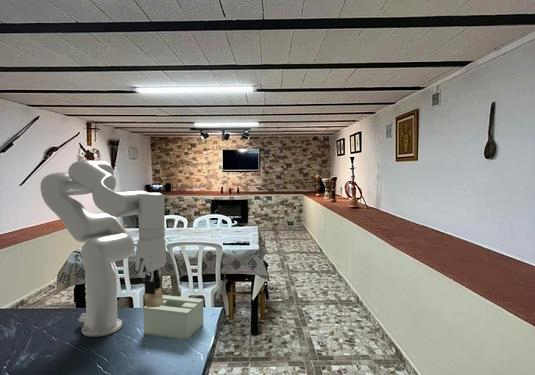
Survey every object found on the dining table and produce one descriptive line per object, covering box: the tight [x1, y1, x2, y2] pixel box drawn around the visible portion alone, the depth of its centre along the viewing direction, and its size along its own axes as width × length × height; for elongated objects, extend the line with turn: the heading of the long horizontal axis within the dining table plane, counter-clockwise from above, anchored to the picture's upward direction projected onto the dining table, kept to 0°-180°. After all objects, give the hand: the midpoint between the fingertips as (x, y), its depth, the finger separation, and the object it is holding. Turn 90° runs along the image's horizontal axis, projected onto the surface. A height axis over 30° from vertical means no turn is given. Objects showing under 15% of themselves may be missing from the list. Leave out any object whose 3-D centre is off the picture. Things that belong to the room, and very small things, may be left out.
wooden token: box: [143, 287, 164, 308], centre depth 110 cm, size 4×2×5 cm, turn 75°
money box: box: [142, 294, 204, 341], centre depth 121 cm, size 16×12×9 cm
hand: (152, 291), depth 110 cm, fingers closed on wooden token, 2 cm apart
